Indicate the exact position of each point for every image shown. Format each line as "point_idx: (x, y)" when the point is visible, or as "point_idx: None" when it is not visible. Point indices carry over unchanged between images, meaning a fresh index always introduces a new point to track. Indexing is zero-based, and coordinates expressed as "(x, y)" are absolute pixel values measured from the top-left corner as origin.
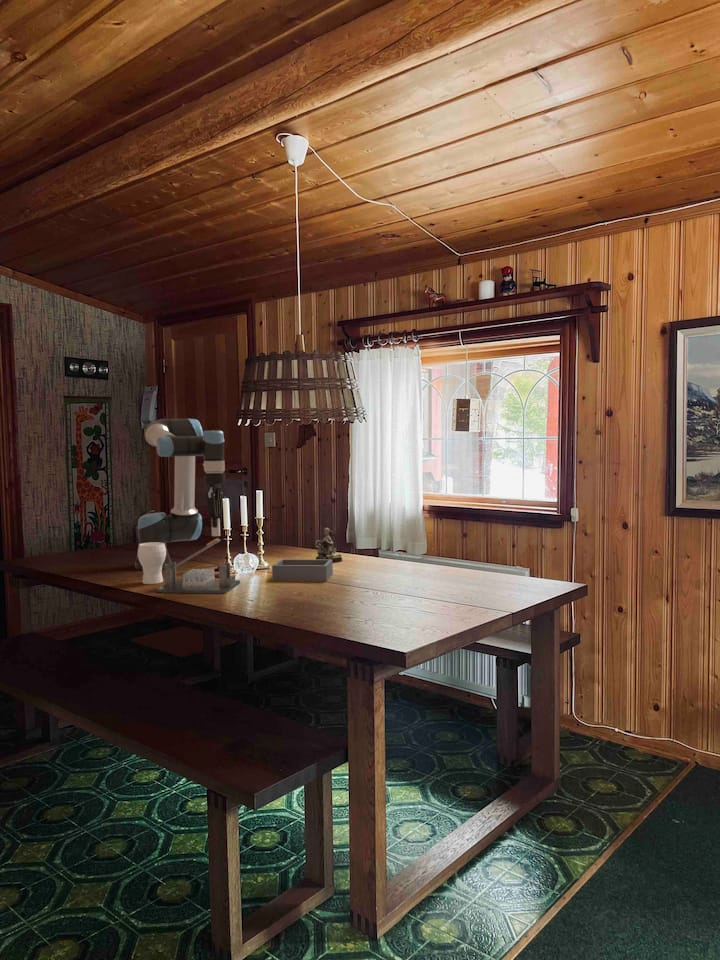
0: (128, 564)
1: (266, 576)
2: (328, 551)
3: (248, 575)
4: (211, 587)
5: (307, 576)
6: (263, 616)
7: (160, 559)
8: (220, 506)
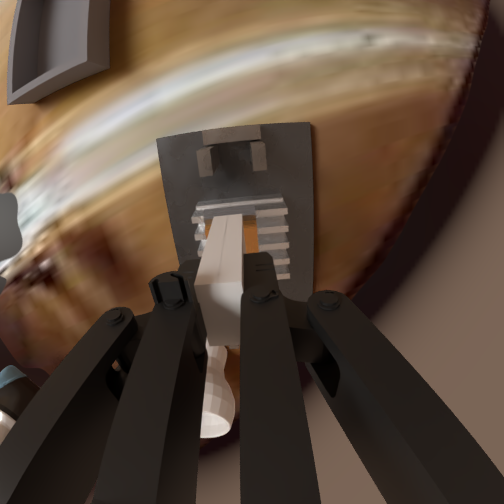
0: None
1: (63, 117)
2: None
3: (63, 172)
4: (276, 179)
5: None
6: (465, 21)
7: (209, 377)
8: (81, 396)
